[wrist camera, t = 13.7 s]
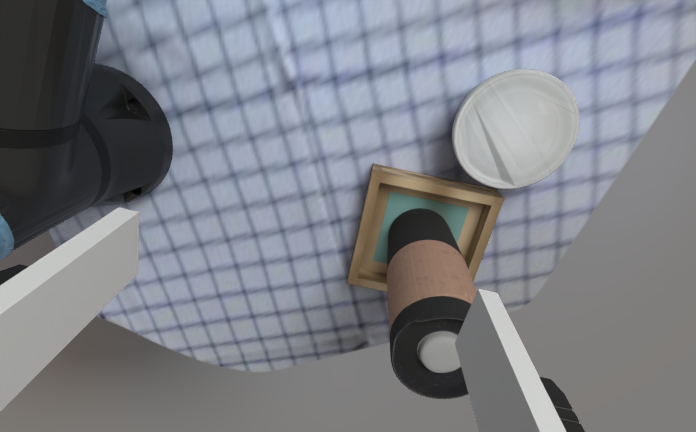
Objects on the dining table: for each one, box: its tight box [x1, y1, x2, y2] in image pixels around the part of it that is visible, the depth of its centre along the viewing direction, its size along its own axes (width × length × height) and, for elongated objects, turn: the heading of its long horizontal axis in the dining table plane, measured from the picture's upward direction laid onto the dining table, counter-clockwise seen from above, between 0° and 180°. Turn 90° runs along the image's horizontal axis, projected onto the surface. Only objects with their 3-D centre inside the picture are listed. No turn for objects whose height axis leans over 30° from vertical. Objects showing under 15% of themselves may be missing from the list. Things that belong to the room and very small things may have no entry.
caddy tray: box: [347, 164, 504, 292], centre depth 46 cm, size 14×14×3 cm
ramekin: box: [452, 69, 580, 189], centre depth 39 cm, size 11×11×5 cm
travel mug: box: [387, 208, 477, 399], centre depth 37 cm, size 8×8×20 cm
